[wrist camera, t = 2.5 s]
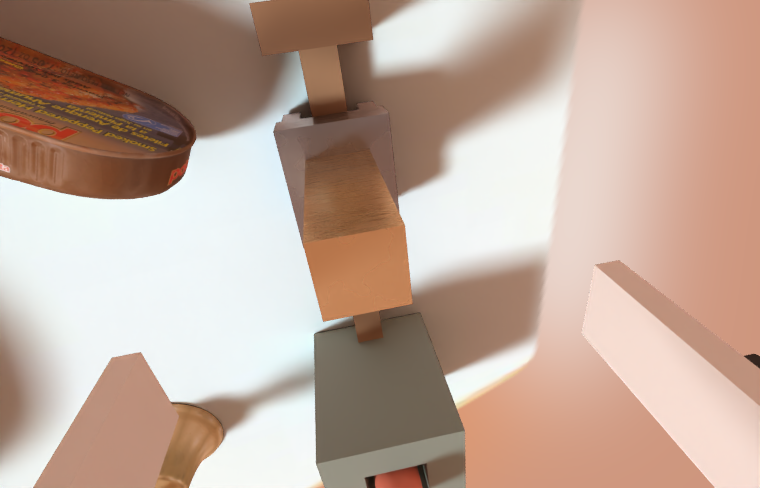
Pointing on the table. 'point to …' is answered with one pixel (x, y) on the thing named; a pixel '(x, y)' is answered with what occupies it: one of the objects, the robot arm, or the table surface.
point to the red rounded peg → (399, 479)
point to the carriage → (347, 208)
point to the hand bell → (189, 446)
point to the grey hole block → (385, 408)
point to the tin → (85, 130)
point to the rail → (318, 64)
